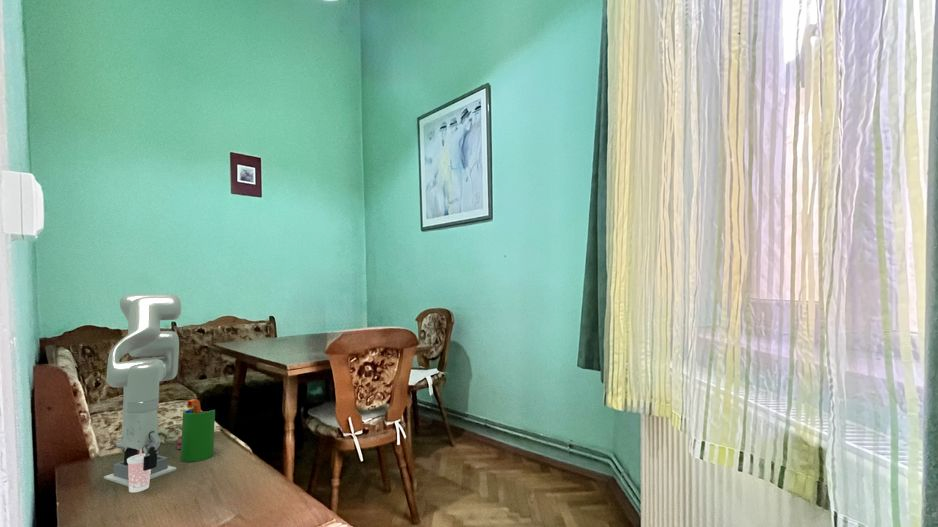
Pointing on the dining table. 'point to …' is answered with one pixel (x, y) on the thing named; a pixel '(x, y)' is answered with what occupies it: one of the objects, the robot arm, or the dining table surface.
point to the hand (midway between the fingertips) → (140, 466)
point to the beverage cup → (137, 473)
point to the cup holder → (122, 471)
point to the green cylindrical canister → (197, 433)
